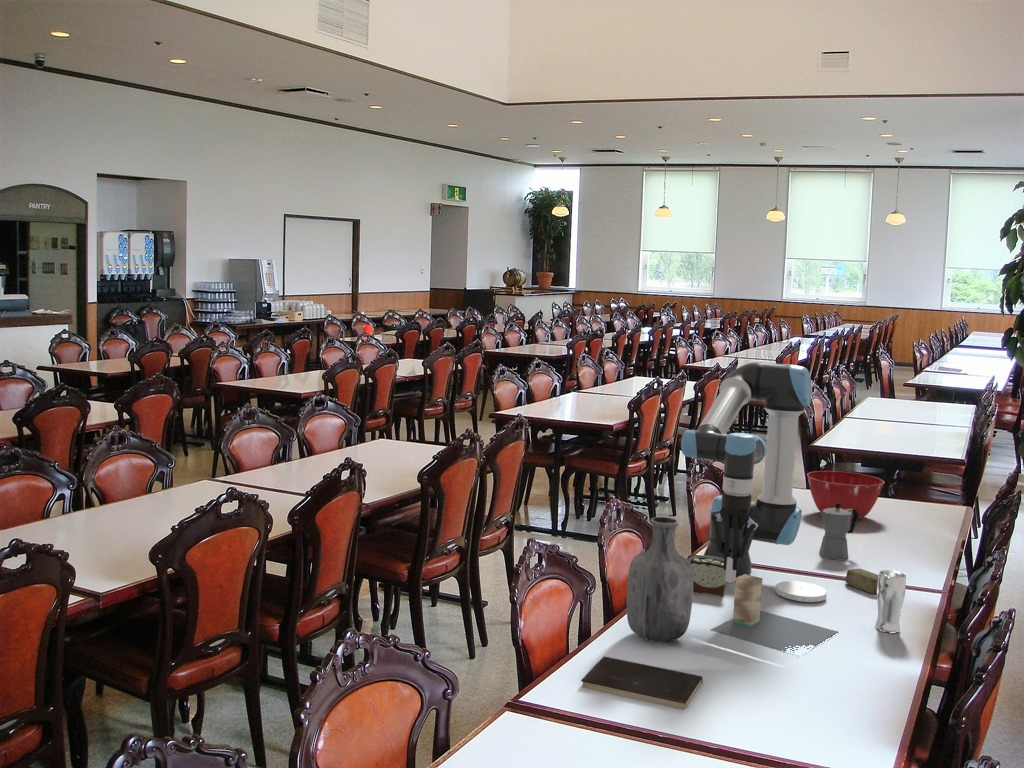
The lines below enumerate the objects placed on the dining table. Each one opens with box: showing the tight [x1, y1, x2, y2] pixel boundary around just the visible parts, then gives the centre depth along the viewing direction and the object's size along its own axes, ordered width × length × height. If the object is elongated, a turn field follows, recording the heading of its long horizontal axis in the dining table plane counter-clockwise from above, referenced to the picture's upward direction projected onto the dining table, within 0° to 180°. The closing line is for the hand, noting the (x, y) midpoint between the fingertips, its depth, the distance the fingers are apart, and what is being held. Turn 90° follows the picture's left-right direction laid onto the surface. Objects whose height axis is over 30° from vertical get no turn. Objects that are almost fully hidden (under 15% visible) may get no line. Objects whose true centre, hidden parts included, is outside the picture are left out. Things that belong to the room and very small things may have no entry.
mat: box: [710, 610, 839, 653], centre depth 261 cm, size 24×24×1 cm
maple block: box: [732, 574, 763, 627], centre depth 265 cm, size 5×5×12 cm
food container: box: [688, 554, 727, 597], centre depth 291 cm, size 12×6×10 cm, turn 65°
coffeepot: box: [818, 503, 859, 560], centre depth 336 cm, size 15×9×18 cm, turn 113°
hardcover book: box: [580, 656, 703, 710], centre depth 224 cm, size 16×23×2 cm
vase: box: [626, 516, 694, 643], centre depth 251 cm, size 16×16×30 cm
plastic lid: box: [775, 580, 828, 603], centre depth 292 cm, size 14×14×2 cm
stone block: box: [844, 567, 879, 595], centre depth 302 cm, size 6×12×5 cm, turn 29°
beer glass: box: [874, 569, 907, 633], centre depth 267 cm, size 7×7×15 cm
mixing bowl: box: [806, 470, 885, 521], centre depth 393 cm, size 28×28×15 cm
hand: (730, 580), depth 268 cm, fingers closed
